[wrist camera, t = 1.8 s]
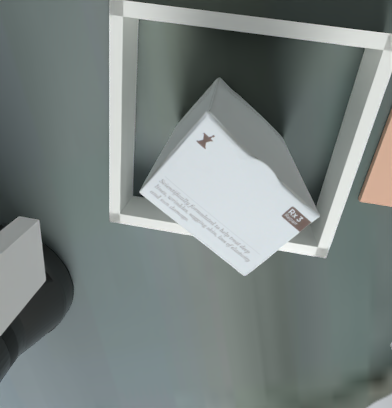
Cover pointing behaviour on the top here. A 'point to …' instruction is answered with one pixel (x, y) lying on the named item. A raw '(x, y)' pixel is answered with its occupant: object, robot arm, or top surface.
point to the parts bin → (372, 41)
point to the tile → (380, 171)
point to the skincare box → (230, 181)
